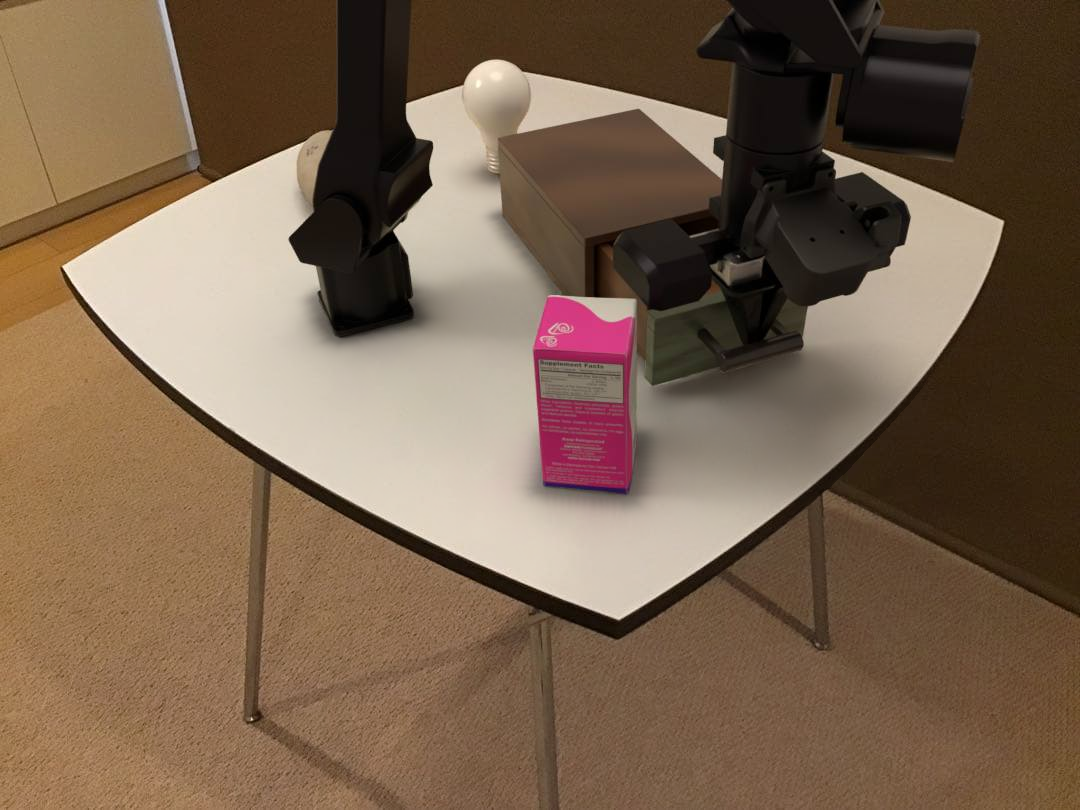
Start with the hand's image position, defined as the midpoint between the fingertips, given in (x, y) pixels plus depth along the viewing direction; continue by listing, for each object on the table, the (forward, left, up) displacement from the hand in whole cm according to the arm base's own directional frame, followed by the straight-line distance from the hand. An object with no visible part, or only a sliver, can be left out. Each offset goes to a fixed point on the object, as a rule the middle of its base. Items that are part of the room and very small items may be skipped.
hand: (750, 345), depth 71 cm
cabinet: (0, +22, -4) cm, 22 cm away
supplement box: (-13, -2, -4) cm, 14 cm away
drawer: (0, +9, -3) cm, 9 cm away
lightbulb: (-4, +39, -4) cm, 39 cm away
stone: (-20, +42, -4) cm, 47 cm away
